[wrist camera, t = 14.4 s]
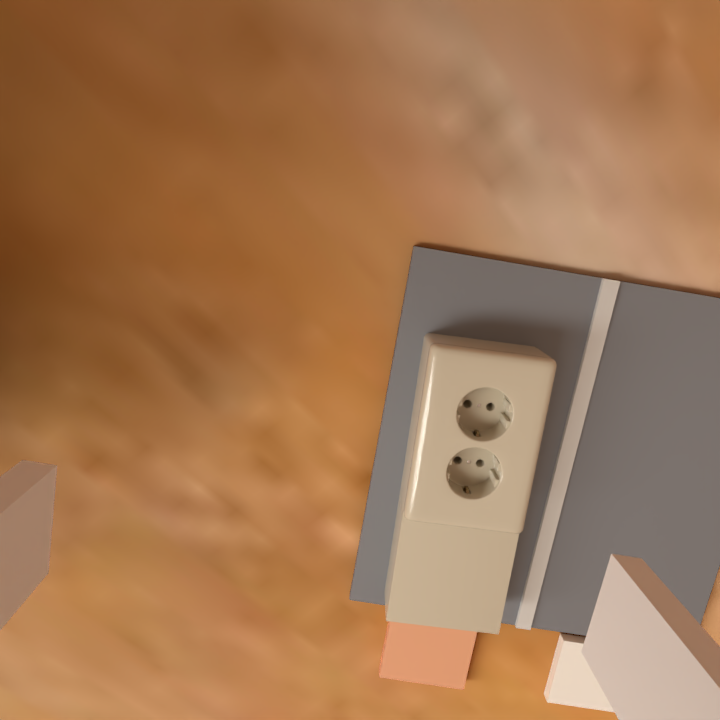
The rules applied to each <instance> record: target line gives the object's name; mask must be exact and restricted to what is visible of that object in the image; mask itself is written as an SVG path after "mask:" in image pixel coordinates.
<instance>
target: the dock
mask: <svg viewBox="0 0 720 720" xmlns="http://www.w3.org/2000/svg"><path fill="white" fill-rule="evenodd" d="M427 333H434V334H442V335H449V336H457V337H465V338H473V339H480V340H488V341H496V342H504V343H511V344H519V345H527V346H534V347H537V348H538V349H540V350H541V351H542V352H544V353H545V354H547V355H548V356H550V357H551V358H552V359H554V360H555V361H556V363H557V368H556V373H555V377H554V382H553V387H552V392H551V397H550V402H549V407H548V412H547V416H546V421H545V426H544V431H543V436H542V441H541V446H540V451H539V455H538V460H537V465H536V470H535V475H534V480H533V485H532V489H531V494H530V499H529V504H528V509H527V514H526V519H525V524H524V528H523V531H522V532H521V533H519V537H518V542H517V547H516V552H515V557H514V562H513V567H512V572H511V577H510V581H509V586H508V591H507V596H506V601H505V606H504V611H503V616H502V621H501V623H505V624H512V625H515V627H516V628H520V629H527V630H530V629H531V628H538V629H545V630H551V631H558V632H564V633H571V634H577V635H584V636H586V635H587V632H588V628H589V625H590V622H591V618H592V615H593V612H594V609H595V605H596V602H597V599H598V596H599V592H600V589H601V586H602V583H603V579H604V576H605V573H606V569H607V566H608V563H609V560H610V556H611V554H617V555H623V556H629V557H636V558H642V559H643V561H644V562H645V563H646V564H647V565H648V566H649V567H650V568H651V570H652V571H653V572H654V573H655V574H656V575H657V576H658V578H659V579H660V580H661V581H662V582H663V583H664V584H665V585H666V587H667V588H668V589H669V590H670V591H671V592H672V593H673V595H674V596H675V597H676V598H677V599H678V600H679V601H680V602H681V604H682V605H683V606H684V607H685V608H686V609H687V610H688V611H689V613H690V614H691V615H692V616H693V617H694V618H695V619H696V621H697V622H698V623H699V624H701V621H702V618H703V615H704V612H705V609H706V606H707V603H708V600H709V597H710V594H711V591H712V588H713V585H714V581H715V578H716V575H717V572H718V569H719V566H720V298H716V297H711V296H705V295H699V294H693V293H687V292H681V291H675V290H669V289H664V288H658V287H652V286H646V285H640V284H634V283H628V282H623V281H617V280H611V279H605V278H599V277H593V276H587V275H581V274H576V273H570V272H564V271H558V270H552V269H546V268H540V267H535V266H529V265H523V264H517V263H511V262H505V261H499V260H493V259H488V258H482V257H476V256H470V255H464V254H458V253H452V252H447V251H441V250H435V249H429V248H423V247H417V246H413V252H412V257H411V263H410V268H409V274H408V279H407V284H406V290H405V295H404V301H403V306H402V312H401V317H400V323H399V328H398V334H397V339H396V345H395V350H394V356H393V361H392V367H391V372H390V377H389V383H388V388H387V394H386V399H385V405H384V410H383V416H382V421H381V427H380V432H379V438H378V443H377V449H376V454H375V460H374V465H373V470H372V476H371V481H370V487H369V492H368V498H367V503H366V509H365V514H364V520H363V525H362V531H361V536H360V542H359V547H358V552H357V558H356V563H355V569H354V574H353V580H352V585H351V591H350V600H354V601H361V602H367V603H374V604H380V605H385V593H384V592H385V585H386V579H387V572H388V566H389V559H390V553H391V546H392V540H393V533H394V527H395V521H396V514H397V508H398V501H399V495H400V488H401V482H402V475H403V469H404V462H405V456H406V449H407V443H408V437H409V430H410V424H411V417H412V411H413V404H414V398H415V391H416V385H417V378H418V372H419V366H420V359H421V353H422V346H423V340H424V336H425V335H426V334H427ZM476 635H477V632H474V631H466V630H458V629H449V628H441V627H432V626H424V625H416V624H407V623H399V622H390V621H388V626H387V631H386V636H385V641H384V646H383V651H382V656H381V661H380V666H379V677H381V678H388V679H394V680H401V681H408V682H415V683H421V684H428V685H435V686H441V687H448V688H455V689H462V690H464V686H465V682H466V677H467V673H468V669H469V665H470V660H471V656H472V652H473V648H474V644H475V639H476ZM585 638H586V637H582V636H576V635H569V634H562V633H560V636H559V639H558V643H557V647H556V651H555V654H554V658H553V662H552V665H551V669H550V673H549V676H548V680H547V684H546V688H545V691H544V695H545V698H546V701H547V702H549V703H556V704H563V705H569V706H576V707H583V708H590V709H596V710H603V711H610V712H614V710H613V708H612V706H611V705H610V703H609V701H608V699H607V697H606V696H605V694H604V692H603V690H602V688H601V686H600V685H599V683H598V681H597V679H596V677H595V676H594V674H593V672H592V670H591V668H590V667H589V665H588V663H587V661H586V659H585V657H584V656H583V654H582V652H581V651H582V648H583V645H584V641H585Z"/></svg>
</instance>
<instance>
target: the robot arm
mask: <svg viewBox="0 0 720 720" xmlns="http://www.w3.org/2000/svg"><path fill="white" fill-rule="evenodd" d="M56 474H57V465H51V464H45V463H39V462H33V461H26V460H22V461H21V462H19V463H18V464H17V465H15V466H14V467H12V468H11V469H10V470H8V471H7V472H6V473H4V474H3V475H2V476H0V630H1V629H2V628H3V626H4V625H5V624H6V623H7V622H8V620H9V619H10V618H11V617H12V616H13V614H14V613H15V612H16V611H17V610H18V609H19V607H20V606H21V605H22V604H23V603H24V601H25V600H26V599H27V598H28V597H29V595H30V594H31V593H32V592H33V591H34V590H35V588H36V587H37V586H38V585H39V584H40V582H41V581H42V580H43V579H44V578H45V576H46V575H47V574H48V572H49V559H50V547H51V535H52V523H53V511H54V498H55V486H56ZM581 652H582V654H583V656H584V657H585V659H586V661H587V663H588V665H589V667H590V668H591V670H592V672H593V674H594V676H595V677H596V679H597V681H598V683H599V685H600V686H601V688H602V690H603V692H604V694H605V696H606V697H607V699H608V701H609V703H610V705H611V706H612V708H613V710H614V712H615V714H616V716H617V717H618V719H619V720H720V647H719V645H718V644H717V643H716V642H715V641H714V640H713V639H712V638H711V636H710V635H709V634H708V633H707V632H706V631H705V630H704V628H703V627H702V626H701V625H700V624H699V623H698V622H697V621H696V619H695V618H694V617H693V616H692V615H691V614H690V613H689V611H688V610H687V609H686V608H685V607H684V606H683V605H682V604H681V602H680V601H679V600H678V599H677V598H676V597H675V596H674V595H673V593H672V592H671V591H670V590H669V589H668V588H667V587H666V585H665V584H664V583H663V582H662V581H661V580H660V579H659V578H658V576H657V575H656V574H655V573H654V572H653V571H652V570H651V568H650V567H649V566H648V565H647V564H646V563H645V562H644V561H643V559H642V558H636V557H629V556H623V555H617V554H611V556H610V560H609V563H608V566H607V569H606V573H605V576H604V579H603V583H602V586H601V589H600V592H599V596H598V599H597V602H596V605H595V609H594V612H593V615H592V618H591V622H590V625H589V628H588V632H587V635H586V638H585V641H584V645H583V648H582V651H581Z"/></svg>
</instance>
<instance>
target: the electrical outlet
mask: <svg viewBox="0 0 720 720" xmlns="http://www.w3.org/2000/svg"><path fill="white" fill-rule="evenodd" d="M556 368H557V363H556V361H555V360H554V359H552V358H551V357H550V356H548V355H547V354H545V353H544V352H542V351H541V350H540V349H538V348H537V347H534V346H527V345H519V344H511V343H504V342H496V341H488V340H480V339H473V338H465V337H457V336H449V335H442V334H434V333H427V334H426V335H425V336H424V340H423V346H422V353H421V359H420V366H419V372H418V378H417V385H416V391H415V398H414V404H413V411H412V417H411V424H410V430H409V437H408V443H407V449H406V456H405V462H404V469H403V475H402V482H401V488H400V495H399V501H398V508H397V514H396V521H395V527H394V533H393V540H392V546H391V553H390V559H389V566H388V572H387V579H386V585H385V592H384V593H385V611H386V621H390V622H399V623H407V624H416V625H424V626H432V627H441V628H449V629H458V630H466V631H474V632H483V633H491V634H499V630H500V626H501V621H502V616H503V611H504V606H505V601H506V596H507V591H508V586H509V581H510V577H511V572H512V567H513V562H514V557H515V552H516V547H517V542H518V537H519V533H521V532H522V531H523V528H524V524H525V519H526V514H527V509H528V504H529V499H530V494H531V489H532V485H533V480H534V475H535V470H536V465H537V460H538V455H539V451H540V446H541V441H542V436H543V431H544V426H545V421H546V416H547V412H548V407H549V402H550V397H551V392H552V387H553V382H554V377H555V373H556Z"/></svg>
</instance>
